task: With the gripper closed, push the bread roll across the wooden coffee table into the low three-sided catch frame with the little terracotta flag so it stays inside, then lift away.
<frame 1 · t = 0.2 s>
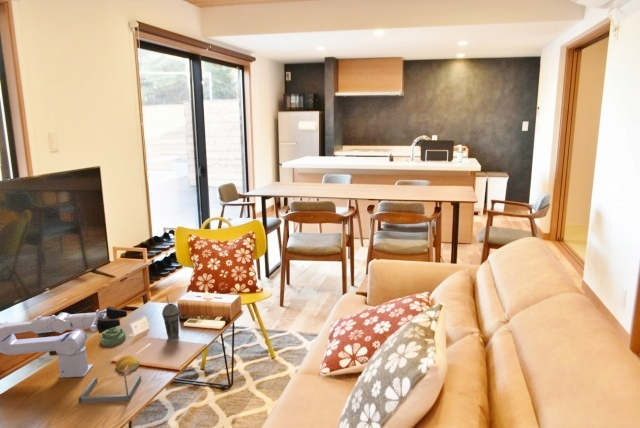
hand: (123, 318, 180), 21 cm above the table, tool horizontal, fingers open, 7 cm apart
catch frame: (111, 390, 171), on the table
beverage cup: (173, 337, 209), on the table
decorative artifact: (113, 340, 208), on the table
bread roll: (127, 367, 186), on the table
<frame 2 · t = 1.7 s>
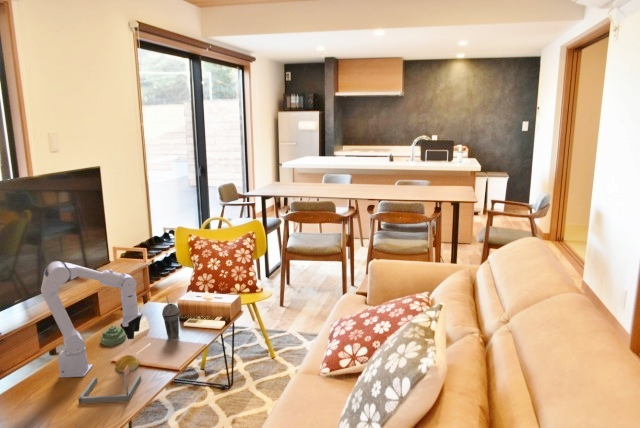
hand: (133, 335, 194), 8 cm above the table, tool pointing down, fingers open, 6 cm apart
nothing on the table moved.
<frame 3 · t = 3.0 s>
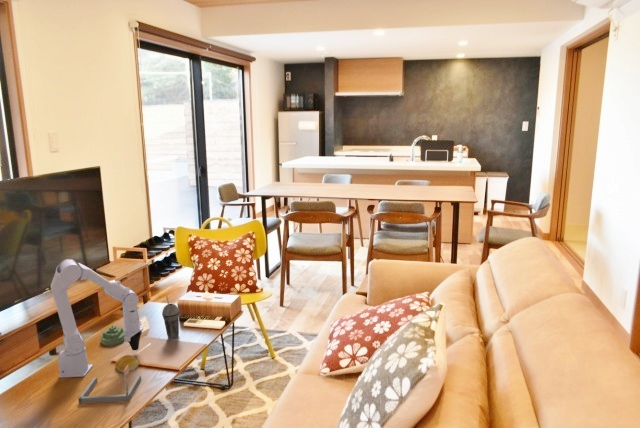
hand: (135, 349, 195), 2 cm above the table, tool pointing down, fingers closed
nothing on the table moved.
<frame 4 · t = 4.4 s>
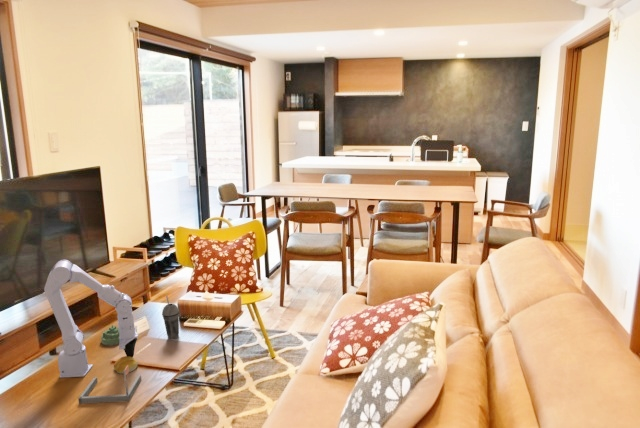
hand: (130, 356, 190), 2 cm above the table, tool pointing down, fingers closed
bread roll: (126, 368, 185), on the table, touching gripper
everything else where it was.
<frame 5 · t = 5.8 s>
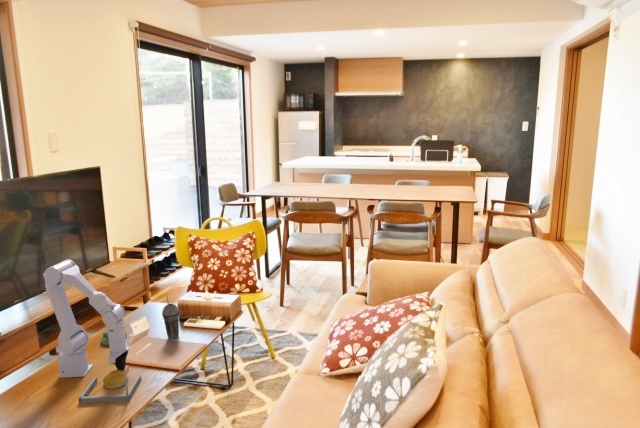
hand: (121, 370, 180), 2 cm above the table, tool pointing down, fingers closed
bread roll: (116, 383, 175), on the table, touching gripper
everything else where it was.
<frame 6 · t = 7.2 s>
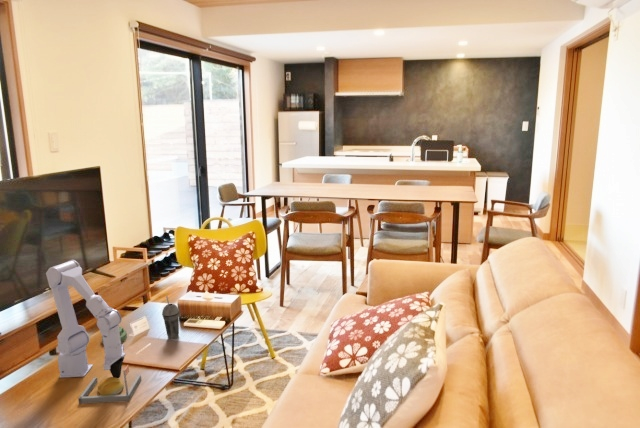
hand: (116, 377, 175), 2 cm above the table, tool pointing down, fingers closed
bread roll: (111, 391, 171), on the table
everything else where it was.
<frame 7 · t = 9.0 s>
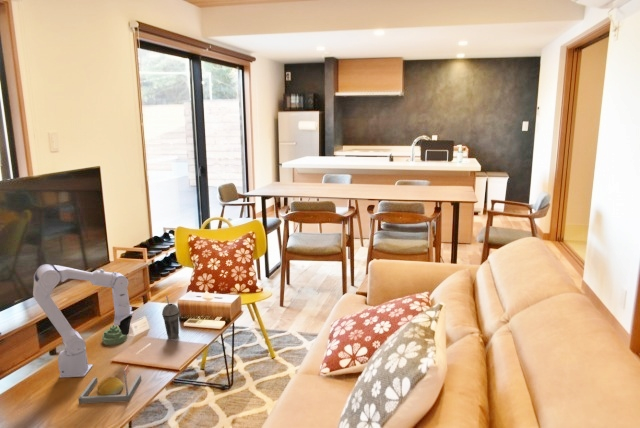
hand: (125, 334, 193), 9 cm above the table, tool pointing down, fingers closed
nothing on the table moved.
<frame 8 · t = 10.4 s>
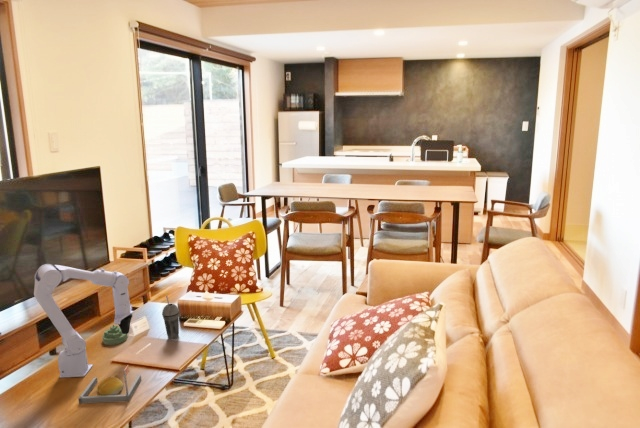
hand: (125, 333, 194), 9 cm above the table, tool pointing down, fingers closed
nothing on the table moved.
at the end: bread roll inside the target area on the catch frame (2.1 cm from its centre), point -0.5 cm above the catch frame's base; bread roll moved 15.6 cm from its start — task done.
